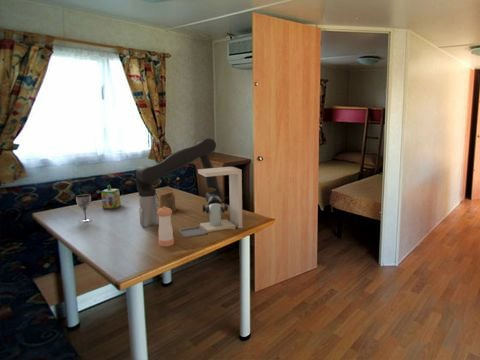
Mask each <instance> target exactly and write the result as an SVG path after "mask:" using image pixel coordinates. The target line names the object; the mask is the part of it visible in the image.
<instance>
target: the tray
mask: <svg viewBox="0 0 480 360" xmlns="http://www.w3.org/2000/svg"><path fill="white" fill-rule="evenodd" d="M177 231H178V232H179V234H180V235H181V236H183V238H185V239H187V238H192V237H193V238H194V237H199V236H205V235H208V234H209V232H207V231H206V230H205V229H203V228H202V227H201V226H200V225H198V226H192V227H191V226H190V227H185V228H180V229H178V230H177Z"/></svg>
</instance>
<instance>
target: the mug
mask: <svg viewBox="0 0 480 360" xmlns="http://www.w3.org/2000/svg"><path fill="white" fill-rule="evenodd" d="M175 195H176V194H175V192H174V191H172V192H168V193H164V194H161V195H159V197H158V193H157V192H156V199H159V205H158V204H157V208H158V209H160V208H162V207H164V206H165V207H167V208H170V209H171V210H172V212H175V211H176V210H177V209H178V208H177V207H176V198H175V197H176V196H175Z"/></svg>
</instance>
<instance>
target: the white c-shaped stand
mask: <svg viewBox="0 0 480 360" xmlns="http://www.w3.org/2000/svg"><path fill="white" fill-rule="evenodd" d="M242 171H243V170H242V169H240V168H238V167H235V166H223V167H222V166H221V167H213V168H209V169H203V168H200V169H198V168H197V174H199V175H201V176H203V177H204V178H205V177H210V176H217V177H219V176H228V179H229V180H228V186H229V187H228V188H229V219H221V225H220V226H211V225H210V221H207V222H201V223H199V226H200V227H202V228H203V229H204V230H205V231H206V232H207V233H210V232H216V231H222V230H227V229H231V230H236V228H238V229H243V186H242V185H243V182H242V180H243V177H242V176H243V173H242Z"/></svg>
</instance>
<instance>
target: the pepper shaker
mask: <svg viewBox="0 0 480 360" xmlns="http://www.w3.org/2000/svg"><path fill="white" fill-rule="evenodd" d="M159 208H160V207H159ZM159 208H157V217H158V232H157V233H158V238H157V239H158V240H157V241H158V246H159V247H170V246H172V245H174V244H175V238H174V234H173V233H174V231H173V225H172V219H171V217H172V216H171V215H172V213H173V211H172V210H171V209H170V208H167V207H165V206H164V207H162V208H160V209H159Z"/></svg>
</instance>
